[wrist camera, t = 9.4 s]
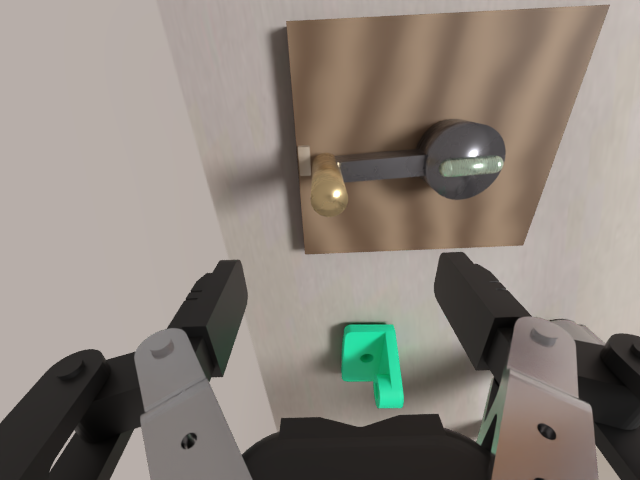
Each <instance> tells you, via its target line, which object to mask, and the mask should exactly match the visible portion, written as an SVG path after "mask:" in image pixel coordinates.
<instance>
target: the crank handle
mask: <svg viewBox="0 0 640 480" xmlns="http://www.w3.org/2000/svg"><path fill="white" fill-rule="evenodd" d="M505 155H506V149H505V144H504V141H503V138H502V137H501V135H500V134H499V133H498V132H497V131H496V130H495V129H494V128H492V127H490V126H488V125H484V124H480V123H476V122H471V121H466V120H462V119H447V120H443V121H441V122H438V123H437V124H435V125H433V126H432V127H431V128H429V129H428V130H427V131H426V132H425V133H424V134H423V136H422V137H421V138H420V140H419V142H418V144H417V146H416V149H408V150H396V151H385V152H373V153H362V154H351V155H339V156H334V155H332V154H330V153H322V154H319V155H318V156H317V157H316V158H315V159H314V161H313V165H312V183H311V205H312V207H313V209H314V210H315V211H316V212H317V213H318V214H319V215H321V216H325V217H334V216H337V215H339V214H340V213H342V212H343V211H344V210H345V208H346V206H347V204H348V194H347V191H346V187H345V184H344V183H346V182H358V181H370V180H382V179H394V178H406V177H418V176H419V177H420V178H421V179H422V180H423V181H424V182H425V183H427V184H428V185H429V186H430V187H431V188H432V189H433V190H435V191H436V192H437V193H438V194H439V195H441V196H443V197H445V198H448V199H453V200H462V199H467V198H471V197H473V196H476V195H478V194H479V193H481V192H483V191H484V190H485V189H487V188H488V187H489V186H490V185H491V184H492V183H493V182H494V181H495V180H496V178H497V177H498V175H499V174H500V172H501V170H502V167H503V165H504V161H505Z"/></svg>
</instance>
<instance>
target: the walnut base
mask: <svg viewBox="0 0 640 480" xmlns="http://www.w3.org/2000/svg"><path fill="white" fill-rule="evenodd" d="M609 6H610V5H595V6H576V7H556V8H537V9H517V10H498V11H478V12H459V13H439V14H420V15H400V16H381V17H361V18H342V19H322V20H303V21H286V23H287V36H288V48H289V61H290V73H291V86H292V98H293V110H294V123H295V135H296V148H297V160H298V173H299V185H300V197H301V210H302V222H303V235H304V247H305V254H325V253H349V252H374V251H398V250H422V249H447V248H471V247H495V246H519V245H523V244H524V241H525V239H526V236H527V233H528V230H529V228H530V225H531V222H532V219H533V216H534V214H535V211H536V208H537V205H538V203H539V200H540V197H541V194H542V191H543V189H544V186H545V183H546V180H547V178H548V175H549V172H550V169H551V167H552V164H553V161H554V158H555V155H556V153H557V150H558V147H559V144H560V142H561V139H562V136H563V133H564V131H565V128H566V125H567V122H568V119H569V117H570V114H571V111H572V108H573V106H574V103H575V100H576V97H577V95H578V92H579V89H580V86H581V83H582V81H583V78H584V75H585V72H586V70H587V67H588V64H589V61H590V59H591V56H592V53H593V50H594V47H595V45H596V42H597V39H598V36H599V34H600V31H601V28H602V25H603V23H604V20H605V17H606V14H607V11H608V9H609ZM447 119H462V120H466V121H471V122H476V123H480V124H484V125H488V126H490V127H492V128H494V129H495V130H496V131H497V132H498V133H499V134H500V135H501V137H502V138H503V141H504V144H505V149H506V155H505V161H504V165H503V167H502V170H501V172H500V174H499V175H498V177H497V178H496V180H495V181H494V182H493V183H492V184H491V185H490V186H489V187H488V188H487V189H485V190H484V191H483V192H481V193H479V194H478V195H476V196H473V197H471V198H467V199H462V200H453V199H448V198H445V197H443V196H441V195H439V194H438V193H437V192H436V191H435V190H433V189H432V188H431V187H430V186H429V185H428V184H427V183H425V182H424V181H423V180H422V179H421V178H420V177H419V176H418V177H406V178H394V179H382V180H370V181H358V182H346V183H344V184H345V187H346V191H347V194H348V204H347V206H346V208H345V210H344V211H343V212H342V213H340V214H339V215H337V216H334V217H325V216H321V215H319V214H318V213H317V212H316V211H315V210H314V209H313V207H312V205H311V183H312V165H313V161H314V159H315V158H316V157H317V156H318V155H319V154H322V153H330V154H332V155H334V156H339V155H351V154H362V153H373V152H385V151H396V150H408V149H416V146H417V144H418V142H419V140H420V138H421V137H422V136H423V134H424V133H425V132H426V131H427V130H428V129H429V128H431V127H432V126H433V125H435V124H437V123H438V122H441V121H443V120H447Z"/></svg>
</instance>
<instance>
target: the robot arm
mask: <svg viewBox="0 0 640 480" xmlns="http://www.w3.org/2000/svg"><path fill="white" fill-rule="evenodd" d="M434 293H435V297H436V299H437V301H438V303H439V305H440V307H441V309H442V310H443V312H444V314H445V316H446V318H447V319H448V321H449V323H450V325H451V327H452V328H453V330H454V332H455V334H456V336H457V337H458V339H459V341H460V343H461V344H462V346H463V348H464V350H465V352H466V353H467V355H468V357H469V359H470V361H471V362H472V364H473V366H474V368H475V370H490V371H491V372H492V374H493V378H492V381H491V384H490V389H489V393H488V397H487V402H486V406H485V410H484V415H483V419H482V423H481V428H480V431H479V435H478V438H477V441H476V442H475V441H473V440H471V439H470V438H468V437H466V436H464V435H462V434H460V433H457V432H455V431H452V430H449V429H446V428H443V425H442V423H441V420H440V417H439V414H418V415H398V416H395V417H392V418H389V419H386V420H383V421H380V422H377V423H373V424H370V425H367V426H364V427H356V426H352V425H348V424H344V423H340V422H337V421H333V420H329V419H325V418H321V417H309V418H281V424H280V432H277V433H274V434H271V435H269V436H267V437H265V438H263V439H262V440H261V441H259V442H257V443H255V444H254V445H253V446H251V447H250V448H249V449H248V450H246V452H244V453H243V454H242V455H241V453H240V451H239V448H238V446H237V444H236V442H235V439H234V437H233V435H232V433H231V431H230V429H229V426H228V424H227V422H226V420H225V417H224V415H223V413H222V410H221V408H220V406H219V404H218V401H217V399H216V397H215V395H214V392H213V390H212V388H211V386H210V384H209V382H210V379H211V377H223V375H224V372H225V369H226V366H227V363H228V360H229V357H230V354H231V351H232V348H233V345H234V342H235V339H236V336H237V333H238V330H239V327H240V324H241V320H242V317H243V315H244V312H245V309H246V305H247V299H248V293H247V287H246V282H245V277H244V273H243V268H242V264H241V261H240V260H221V261H219V263H218V264H217V266H216V268H215V269H214V271H213V273H207V274H205V275H204V276H203V277H201V278H200V279H199V280H198V281H197V282H196V283H195V285H194V286H193V288H192V290H191V293H189V294H188V296H187V297H186V301H184V302H183V304H182V305H181V307H180V309H179V310H178V312H177V313H176V315H175V317H174V318H173V320H172V321H171V323H170V325H169V326H168V328H167V329H165V330H161V331H159V332H157V333H155V334H153V335H151V336H149V337H148V338H147V339H145V340H144V341H143V342H142V343H141V344H140V346H139V347H138V348H137V350H136V352H133V353H130V354H126V355H122V356H118V357H115V358H111V359H108V360H106V359H105V358H104V356H103V355H102V353H101V352H100V351H98V350H94V349H89V350H83V351H79V352H76V353H74V354H71V355H69V356H67V357H65V358H63V359H62V360H60V361H59V362H57V363H56V364H55V365H53V366H52V367H51V368H50V369H49V370H48V371H47V372H46V373H45V374H44V375H43V376H42V377H41V378H40V379H39V381H38V382H37V383H36V384H35V385H34V386H33V387H32V388H31V389H30V391H29V392H28V393H27V394H26V395H25V396H24V397H23V398H22V400H21V401H20V402H19V403H18V404H17V405H16V406H15V407H14V409H13V410H12V411H11V412H10V413H9V414H8V415H7V416H6V417H5V419H4V420H3V421H2V422H1V423H0V480H110V478H111V476H112V474H113V472H114V469H115V467H116V465H117V463H118V461H119V459H120V457H121V455H122V453H123V451H124V449H125V447H126V445H127V443H128V441H129V439H130V437H131V434H132V432H133V430H134V429H135V428H138V427H141V428H142V434H143V439H144V444H145V450H146V456H147V462H148V467H149V473H150V478H151V480H599V479H598V468H597V459H596V458H597V457H596V446H597V447H598V449H599V450H600V451H601V452H602V454H603V456H604V457H605V458H606V460H607V461H608V462H609V464H610V465H611V467H612V468H613V469H614V471H615V472H616V473H617V475H618V476H619V478H620V479H621V480H640V337H639V336H635V335H630V334H614V335H612V336H611V337H610V338H609V340H608V341H607V343H606V344H605V343H604V342H603V341H602V340H601V339H600V338H598V337H597V336H596V335H595V334H594V333H593V332H592V331H591V330H589V329H588V328H587V327H586V326H580V325H578V324H576V323H575V322H573V321H570V320H555V321H551V322H550V321H548V320H545V319H542V318H538V317H532V316H531V315H530V314H529V313H528V312H527V310H526V309H525V308H524V307H523V306H522V305H521V304H520V303H519V302H518V301H517V300H516V299H515V298H514V297H513V295H512V294H511V293H510V292H509V291H508V290H506V288H505V287H504V286H503V285H502V284H501V283H499V280H498V279H497V278H496V277H495V276H494V275H493V274H492V273H491V272H490V271H488V270H487V269H485V268H483V267H482V266H480V265H478V264H473V262H472V261H471V260H470V259H469V258H468V257H467V256H466V254H465V253H463V252H449V253H442V254H441V255H440V258H439V262H438V267H437V272H436V277H435V282H434ZM74 430H75V432H76V433H75V434H74V436H73V437H72V439H71V440H70V442H69V443H68V445H67V446H66V448H65V450H64V451H63V453H62V454H61V456H60V457H59V459H58V460H57V462H56V463H55V465H54V466H53V468H52V469H51V471H50V468H51V466H52V464H53V462H54V460H55V458H56V457H57V455H58V454H59V452H60V450H61V449H62V448H63V446H64V444H65V443H66V441H67V440H68V438H69V437H70V435H71V434H72V432H73V431H74ZM595 444H596V446H595Z"/></svg>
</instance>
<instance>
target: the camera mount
mask: <svg viewBox="0 0 640 480" xmlns="http://www.w3.org/2000/svg"><path fill="white" fill-rule="evenodd" d="M341 373H342V379H343V380H344V381H347V382H359V381H373V386H374V397H375V402H376V406H377V408H402V407H403V403H404V395H403V386H402V379H401V371H400V363H399V356H398V348H397V341H396V333H395V329H394V326H393V325H347V326H346V327H345V328H344V336H343V342H342V367H341Z"/></svg>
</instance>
